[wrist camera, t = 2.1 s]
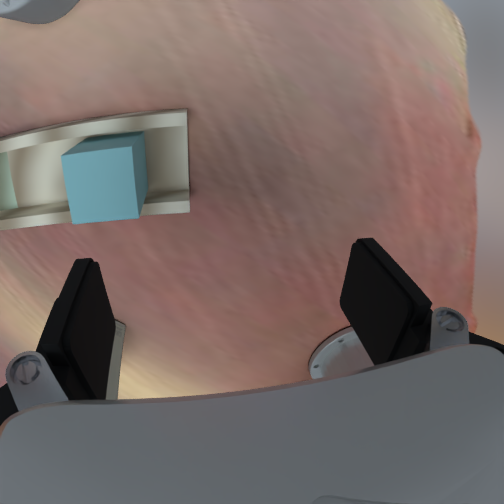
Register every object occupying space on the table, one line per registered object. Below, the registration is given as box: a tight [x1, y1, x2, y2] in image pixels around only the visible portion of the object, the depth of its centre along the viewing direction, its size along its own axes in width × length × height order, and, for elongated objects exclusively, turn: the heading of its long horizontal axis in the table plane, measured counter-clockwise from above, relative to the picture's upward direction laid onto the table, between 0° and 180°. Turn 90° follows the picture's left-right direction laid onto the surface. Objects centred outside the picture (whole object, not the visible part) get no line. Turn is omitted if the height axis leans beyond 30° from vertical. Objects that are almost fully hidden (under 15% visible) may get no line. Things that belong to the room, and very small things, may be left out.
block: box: [61, 131, 148, 224], centre depth 22 cm, size 5×5×6 cm
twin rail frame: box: [0, 108, 190, 230], centre depth 23 cm, size 20×8×3 cm, turn 88°
